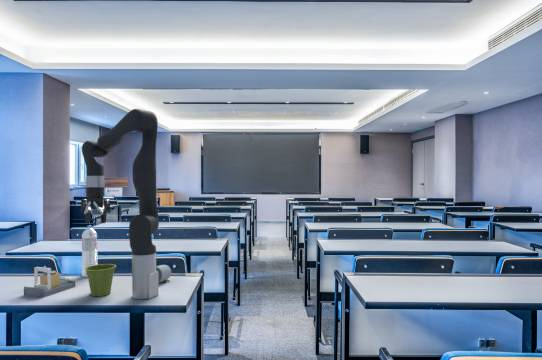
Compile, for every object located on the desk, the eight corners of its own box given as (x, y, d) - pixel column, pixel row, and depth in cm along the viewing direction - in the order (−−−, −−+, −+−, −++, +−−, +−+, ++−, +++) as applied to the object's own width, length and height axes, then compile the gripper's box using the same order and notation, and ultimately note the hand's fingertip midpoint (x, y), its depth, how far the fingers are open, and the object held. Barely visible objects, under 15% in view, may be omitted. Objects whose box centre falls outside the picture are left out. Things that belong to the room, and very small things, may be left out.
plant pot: (122, 291, 156) (122, 265, 156) (99, 300, 145) (99, 271, 145) (102, 288, 161) (102, 262, 161) (78, 296, 150) (78, 268, 150)
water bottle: (91, 278, 177) (91, 226, 177) (78, 278, 179) (78, 226, 178) (100, 275, 184) (100, 224, 184) (88, 274, 185) (88, 224, 185)
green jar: (69, 286, 162) (69, 277, 162) (59, 289, 157) (59, 280, 157) (60, 285, 164) (60, 276, 164) (50, 288, 159) (50, 279, 159)
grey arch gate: (51, 292, 152) (51, 268, 152) (47, 293, 151) (47, 269, 151) (37, 291, 155) (37, 267, 155) (33, 292, 153) (33, 267, 153)
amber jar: (49, 293, 153) (49, 273, 153) (40, 292, 154) (40, 272, 154) (59, 289, 157) (59, 271, 157) (50, 288, 159) (50, 270, 159)
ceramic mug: (172, 279, 174) (172, 263, 175) (162, 284, 167) (161, 267, 167) (153, 278, 178) (153, 262, 178) (142, 282, 170) (142, 266, 170)
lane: (75, 287, 162) (75, 278, 162) (42, 299, 147) (42, 288, 147) (57, 285, 166) (57, 276, 166) (23, 296, 150) (23, 286, 150)
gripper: (75, 186, 164) (76, 223, 164) (101, 186, 159) (102, 224, 159) (89, 186, 171) (89, 221, 171) (114, 186, 166) (114, 222, 166)
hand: (95, 222), depth 165 cm, fingers open, 8 cm apart
